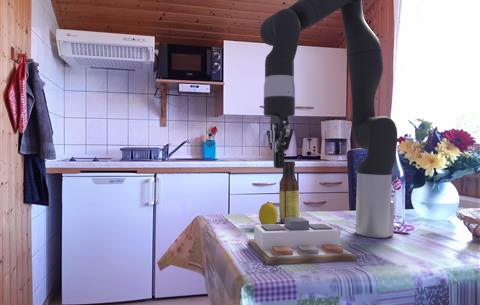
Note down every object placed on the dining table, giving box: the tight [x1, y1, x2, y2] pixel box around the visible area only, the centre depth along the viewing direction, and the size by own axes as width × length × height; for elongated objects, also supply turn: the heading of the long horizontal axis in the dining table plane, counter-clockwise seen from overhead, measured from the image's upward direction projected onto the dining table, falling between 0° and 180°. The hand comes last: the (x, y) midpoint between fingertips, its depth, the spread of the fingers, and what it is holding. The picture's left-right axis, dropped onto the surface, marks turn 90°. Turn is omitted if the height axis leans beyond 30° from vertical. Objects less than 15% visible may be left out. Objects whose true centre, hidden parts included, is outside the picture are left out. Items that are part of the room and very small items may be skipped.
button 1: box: [309, 223, 332, 230], centre depth 84 cm, size 4×4×4 cm
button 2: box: [284, 216, 310, 230], centre depth 83 cm, size 4×4×4 cm
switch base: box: [248, 238, 358, 266], centre depth 81 cm, size 20×16×2 cm
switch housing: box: [253, 222, 342, 251], centre depth 83 cm, size 19×8×4 cm, turn 102°
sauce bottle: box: [278, 160, 300, 224], centre depth 112 cm, size 7×6×20 cm
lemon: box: [258, 201, 278, 225], centre depth 103 cm, size 6×6×8 cm
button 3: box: [260, 224, 285, 231], centre depth 82 cm, size 4×4×4 cm
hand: (278, 167), depth 85 cm, fingers closed
